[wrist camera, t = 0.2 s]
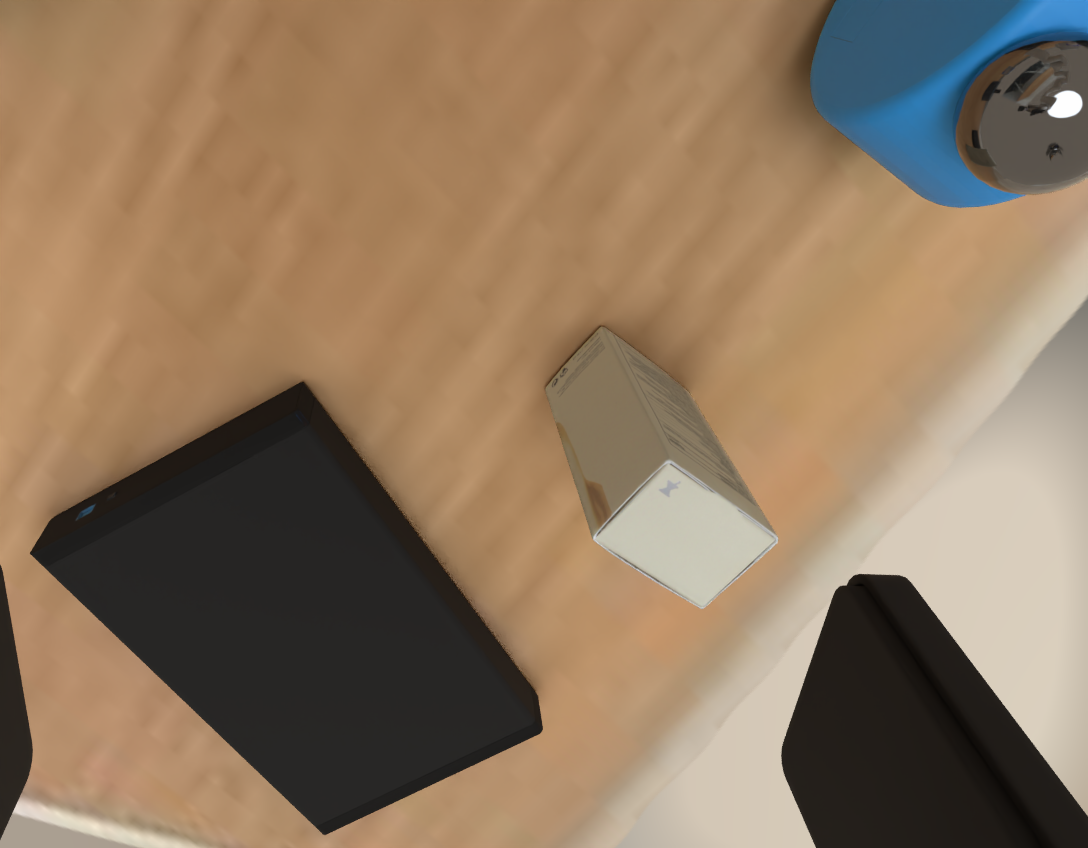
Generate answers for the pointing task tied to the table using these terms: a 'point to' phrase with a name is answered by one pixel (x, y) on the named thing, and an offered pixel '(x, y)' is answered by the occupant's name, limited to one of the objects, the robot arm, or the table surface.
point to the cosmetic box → (654, 472)
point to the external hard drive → (295, 612)
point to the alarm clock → (960, 93)
